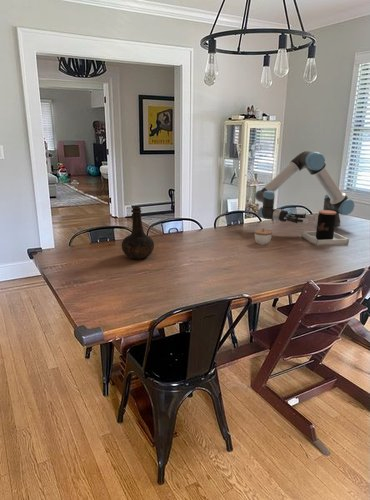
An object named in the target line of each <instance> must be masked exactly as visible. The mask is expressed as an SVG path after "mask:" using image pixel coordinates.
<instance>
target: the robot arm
mask: <svg viewBox="0 0 370 500" xmlns="http://www.w3.org/2000/svg"><path fill="white" fill-rule="evenodd" d="M325 161H326V159H325V156H324V154H322V153H321V152H318V151H308V150H306V151H305V150H304V151H302V152H300V153H299V154H298V155H296V156H295V157H294V158H293V159H292V160H290V161H289V164H288V165H287V166H286V167H285V168H284V169H283V170H282V171H280V172H279V173H278V174H277V175H275V176H274V178H273V179H272V180H270V182H269V183H267V184H266V185H265V186H264V187H263V188H262V189H260V190H256V191H255V193H254V198H255V200H256V201H258V202H260V203H262V207H260V208H259V209H258V218H260V219H265V220H273V221H275V222H278V221H280V222H287V221H288V222H291V223H294V224H298V223H302V224H307V225H309V221H310V220H313V221H316V215H312V214H307V213H306V212H305V213H294V212H293V213H292V212H291V213H289V212H288V210H286V209H277V208H275V207H274V206H275V199H276V198H275V196H276V195H275V193H276V191H277V190H279V189H280V187H282V186H283V185H284V184H285V183H287V182H288V180H290V179H291V178H292V177H293V176H294V175H295V174H296V173H299V172H301V171H302V170H304V169H306V170H307V171H308V172H309V174H310V175H312V176H314V178H315V179H316V181H317V182H318V183H319V185H320V186H321V188H322V190H323V191H324V192H325V193H326V194H325V195H324V198H323V206H322V207H323V209H322V210H330V211H335V212H336V220H335V227H338V226H341V218H340V215H342V216H348V215H350V214H351V213H353V211H354V209H355V202H354V201H353V199H351V198H349V197H348V195H347V193H345V192H342V191H341V189H340V188H339V186H338V185H337V184H336V182H335V180H334V179H333V177H332V176H331V174H330V172H329V171H328V170H327V168H326V167H327V166H326V165H327V164H326V162H325Z"/></svg>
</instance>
